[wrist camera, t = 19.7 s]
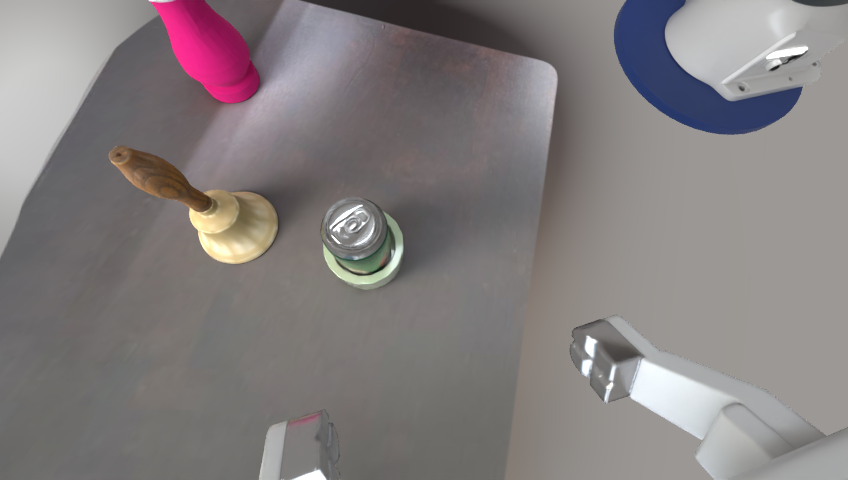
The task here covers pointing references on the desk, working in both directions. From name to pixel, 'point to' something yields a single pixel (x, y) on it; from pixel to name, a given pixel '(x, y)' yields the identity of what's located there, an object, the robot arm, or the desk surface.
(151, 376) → the desk surface
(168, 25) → the pepper mill
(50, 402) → the desk surface
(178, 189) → the hand bell
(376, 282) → the socket
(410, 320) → the desk surface
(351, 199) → the soda can
